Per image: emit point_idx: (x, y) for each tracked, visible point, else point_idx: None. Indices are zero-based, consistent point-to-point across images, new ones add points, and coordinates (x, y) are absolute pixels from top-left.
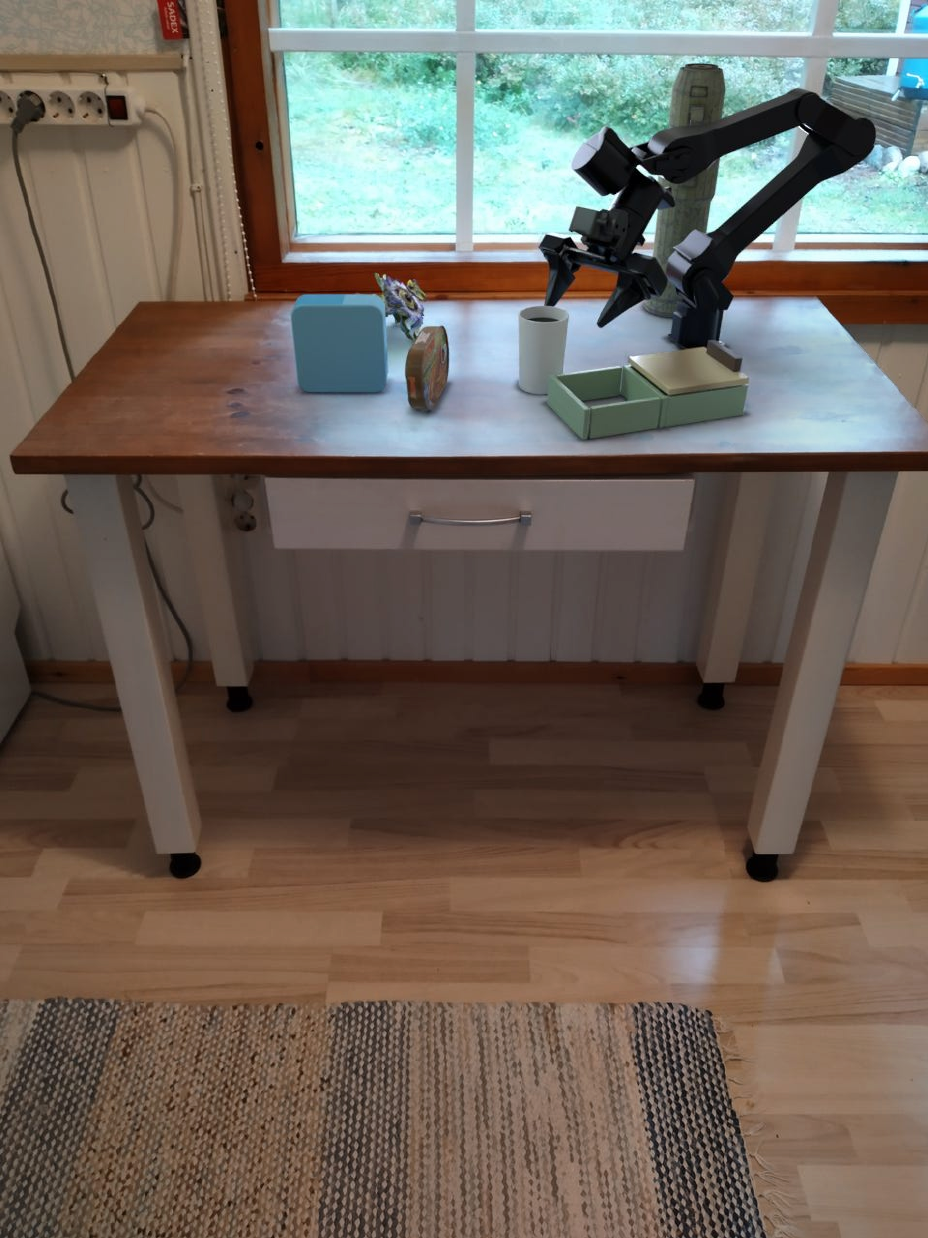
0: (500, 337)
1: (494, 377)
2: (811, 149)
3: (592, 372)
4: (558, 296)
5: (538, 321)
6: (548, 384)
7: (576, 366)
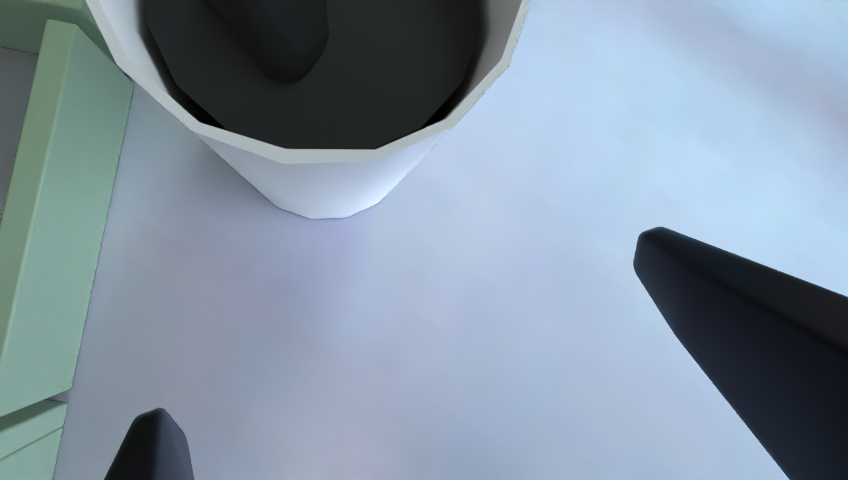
0: (833, 261)
1: None
2: None
3: (1, 222)
4: (735, 382)
5: (398, 5)
6: None
7: (438, 387)
